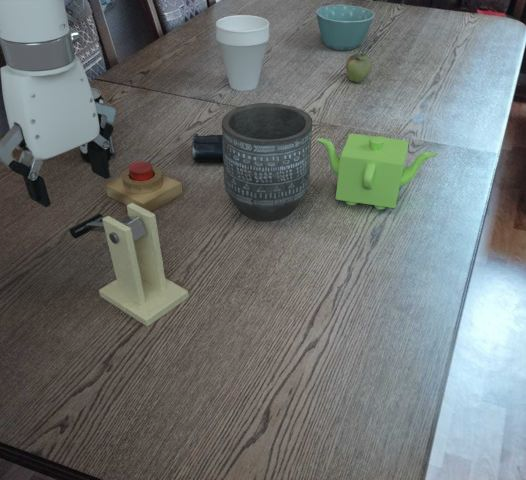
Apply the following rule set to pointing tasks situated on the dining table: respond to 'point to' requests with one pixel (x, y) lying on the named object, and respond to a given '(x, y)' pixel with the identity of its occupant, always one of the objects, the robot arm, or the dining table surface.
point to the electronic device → (207, 148)
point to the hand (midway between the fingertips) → (72, 188)
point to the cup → (243, 48)
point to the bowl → (343, 25)
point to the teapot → (372, 169)
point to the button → (141, 171)
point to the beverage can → (99, 99)
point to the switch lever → (97, 225)
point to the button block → (144, 190)
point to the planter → (266, 158)
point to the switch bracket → (139, 270)
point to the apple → (357, 67)
